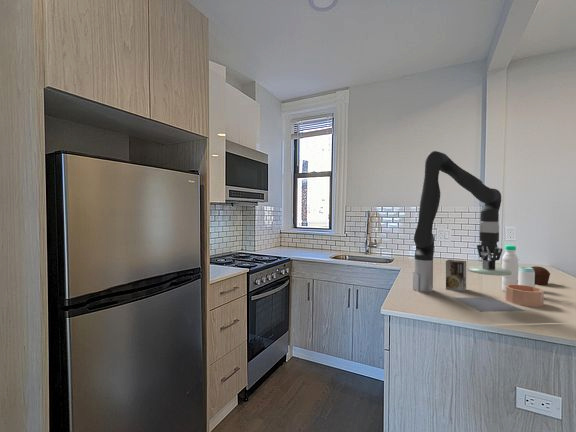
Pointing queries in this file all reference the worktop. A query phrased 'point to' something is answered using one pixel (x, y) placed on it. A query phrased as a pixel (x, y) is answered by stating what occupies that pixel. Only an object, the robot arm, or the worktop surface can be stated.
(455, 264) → the coffee box
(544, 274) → the muffin
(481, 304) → the mat
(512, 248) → the water bottle
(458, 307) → the worktop surface
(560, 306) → the worktop surface
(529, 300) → the bowl
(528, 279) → the can
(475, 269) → the lid
